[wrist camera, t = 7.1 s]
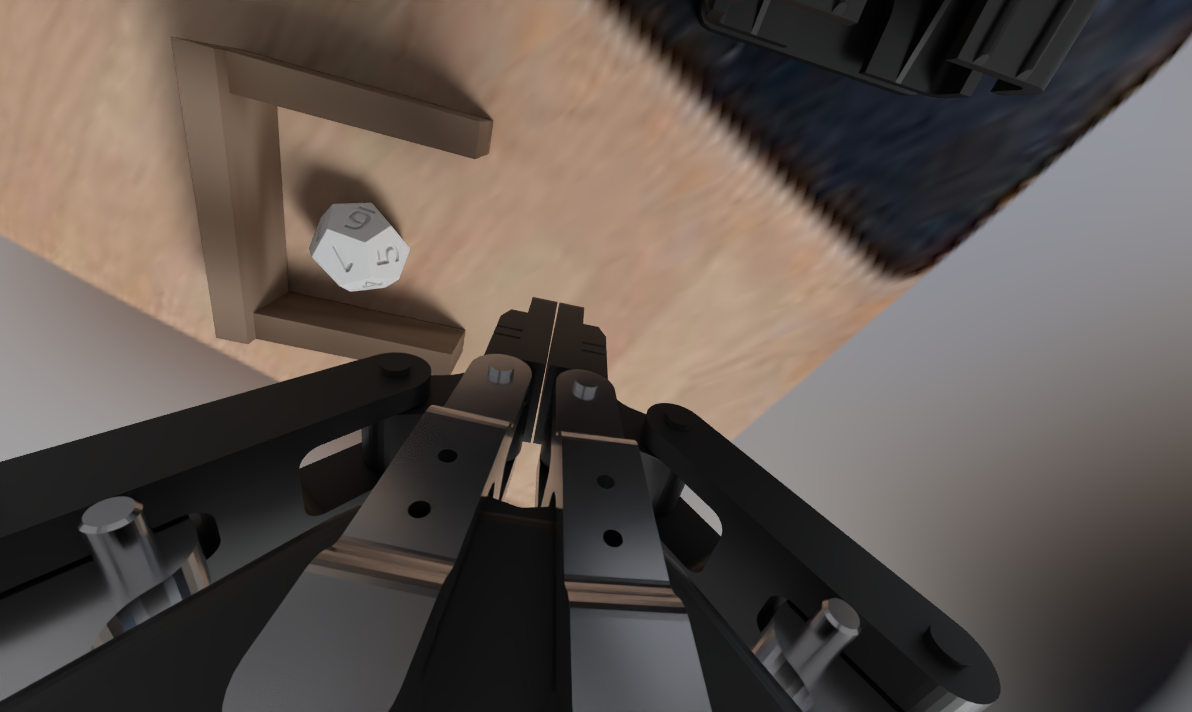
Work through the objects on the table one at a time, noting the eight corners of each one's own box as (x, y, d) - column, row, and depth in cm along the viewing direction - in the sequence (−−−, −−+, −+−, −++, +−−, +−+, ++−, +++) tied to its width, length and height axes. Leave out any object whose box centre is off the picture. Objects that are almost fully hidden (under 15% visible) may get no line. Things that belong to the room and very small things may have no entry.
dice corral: (238, 48, 16) (170, 36, 14) (493, 120, 18) (476, 121, 15) (262, 309, 21) (216, 337, 18) (462, 351, 22) (445, 383, 20)
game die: (394, 185, 19) (362, 196, 16) (431, 269, 20) (407, 292, 18) (316, 206, 19) (272, 221, 16) (359, 288, 21) (326, 313, 18)
